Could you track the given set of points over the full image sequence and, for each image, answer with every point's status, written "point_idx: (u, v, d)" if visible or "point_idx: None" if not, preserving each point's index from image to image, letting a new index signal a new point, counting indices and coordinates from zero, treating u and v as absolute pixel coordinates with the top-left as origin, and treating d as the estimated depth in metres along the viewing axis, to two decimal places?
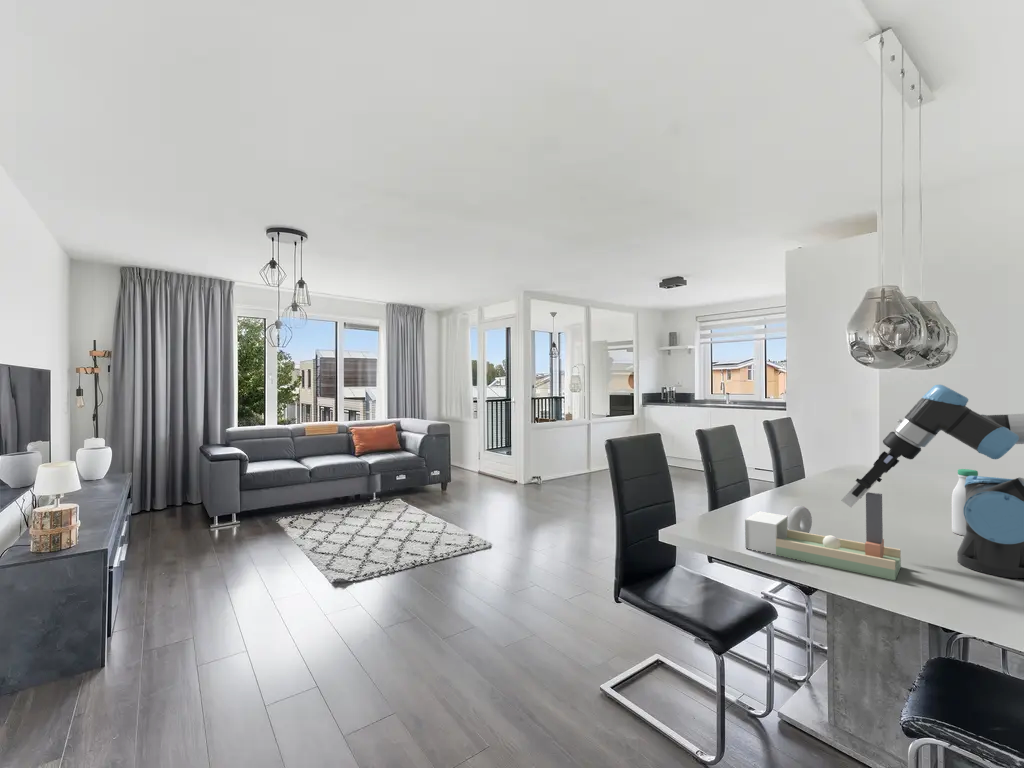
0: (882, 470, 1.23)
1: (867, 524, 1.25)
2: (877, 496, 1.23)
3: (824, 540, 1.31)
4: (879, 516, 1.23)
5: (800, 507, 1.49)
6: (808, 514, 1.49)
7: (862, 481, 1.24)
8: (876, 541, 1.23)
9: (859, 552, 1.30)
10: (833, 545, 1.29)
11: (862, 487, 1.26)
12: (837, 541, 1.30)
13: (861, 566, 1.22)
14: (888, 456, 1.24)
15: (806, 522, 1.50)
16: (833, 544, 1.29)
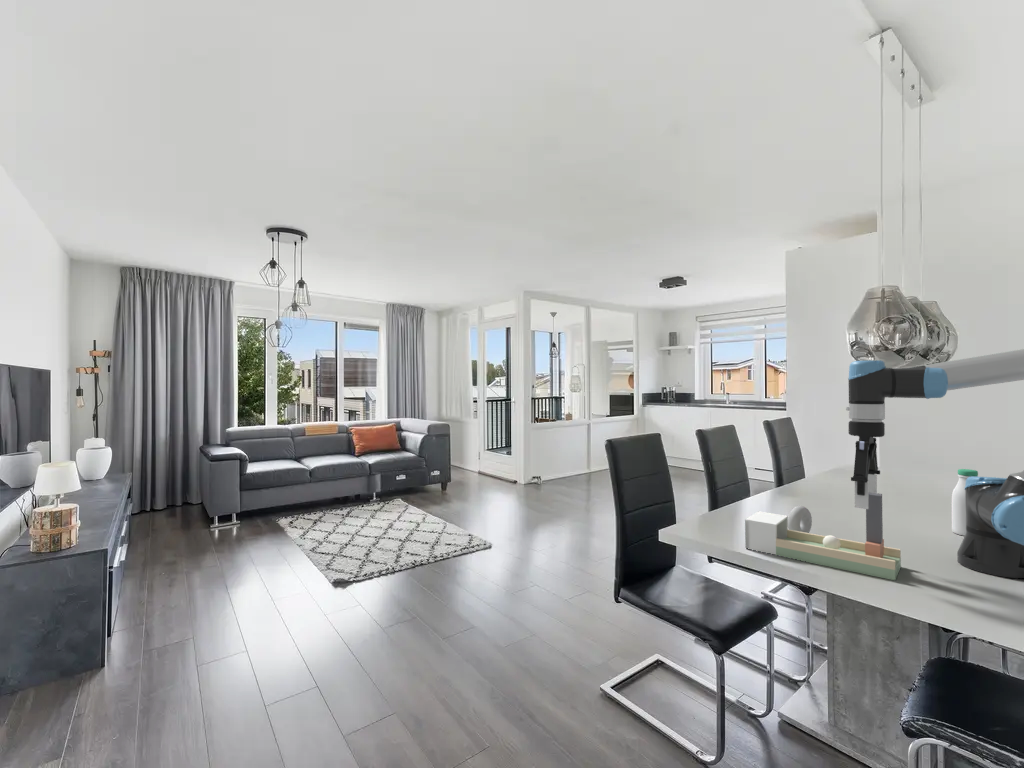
0: (864, 457, 1.20)
1: (867, 524, 1.25)
2: (877, 496, 1.23)
3: (824, 540, 1.31)
4: (879, 516, 1.23)
5: (800, 507, 1.49)
6: (808, 514, 1.49)
7: (856, 477, 1.19)
8: (876, 541, 1.23)
9: (859, 552, 1.30)
10: (833, 545, 1.29)
11: (861, 483, 1.20)
12: (837, 541, 1.30)
13: (861, 566, 1.22)
14: (860, 442, 1.21)
15: (806, 522, 1.50)
16: (833, 544, 1.29)
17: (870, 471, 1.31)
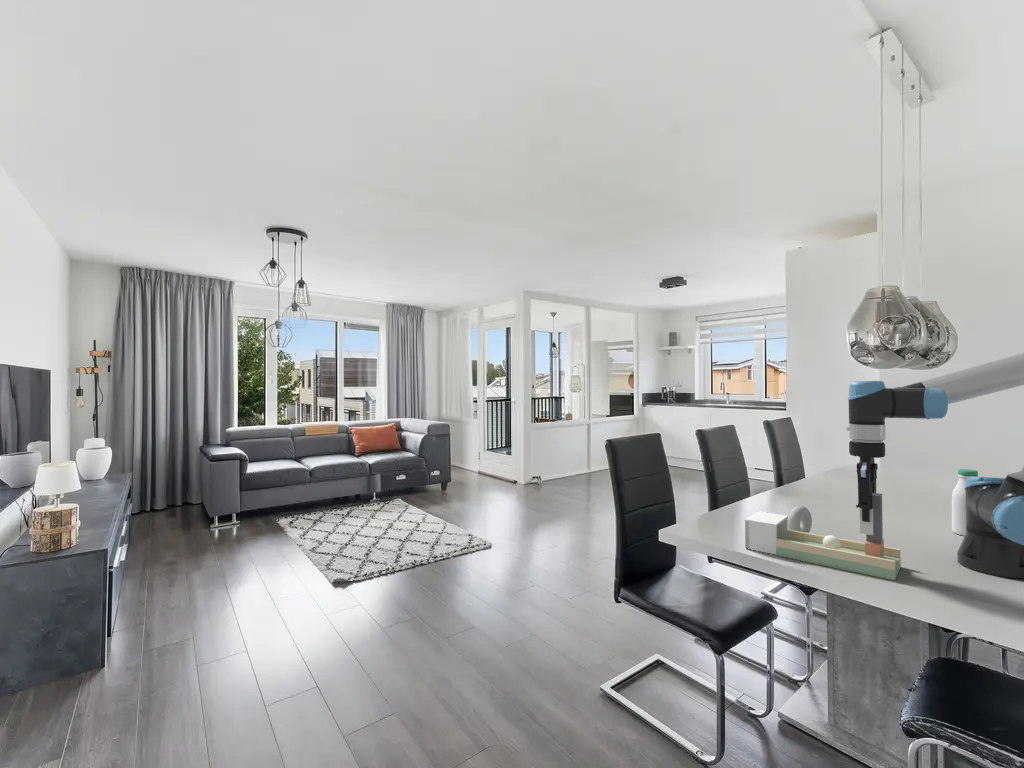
0: (867, 486, 1.21)
1: None
2: (877, 496, 1.23)
3: (824, 540, 1.31)
4: (879, 516, 1.23)
5: (800, 507, 1.49)
6: (808, 514, 1.49)
7: (861, 505, 1.23)
8: (876, 541, 1.23)
9: (859, 552, 1.30)
10: (833, 545, 1.29)
11: (866, 510, 1.23)
12: (837, 541, 1.30)
13: (861, 566, 1.22)
14: (861, 471, 1.21)
15: (806, 522, 1.50)
16: (833, 544, 1.29)
17: None
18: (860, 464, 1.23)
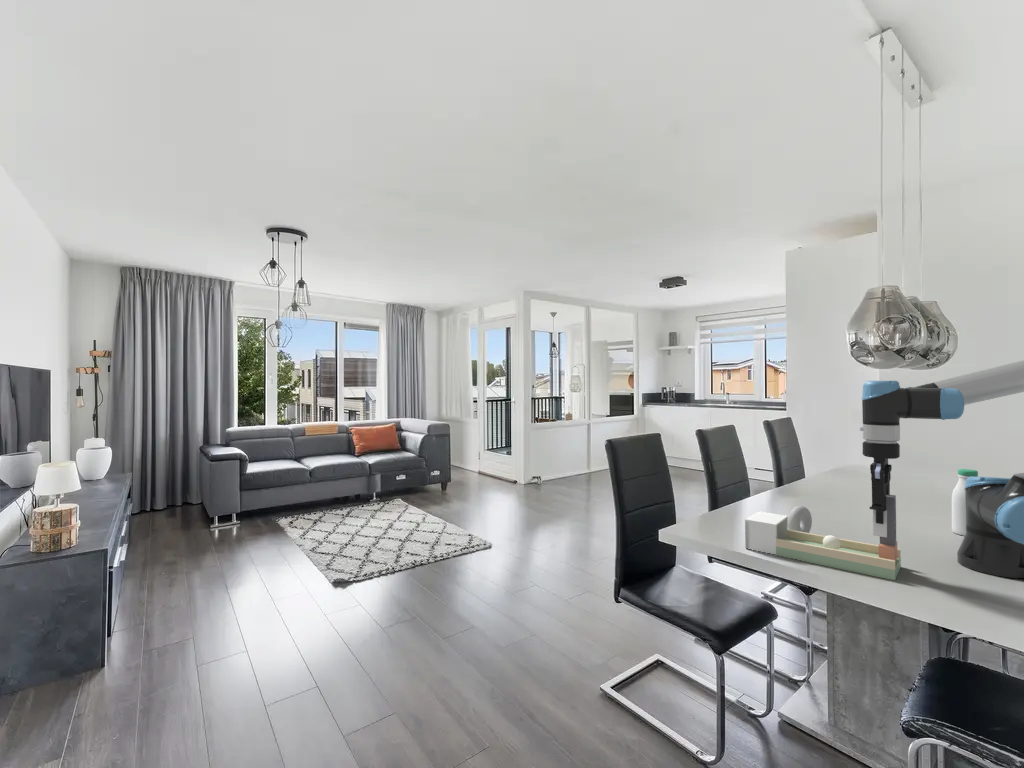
0: (881, 487, 1.19)
1: None
2: (891, 498, 1.21)
3: (824, 540, 1.31)
4: (893, 518, 1.21)
5: (800, 507, 1.49)
6: (808, 514, 1.49)
7: (874, 507, 1.21)
8: (890, 543, 1.21)
9: (859, 552, 1.30)
10: (833, 545, 1.29)
11: (880, 512, 1.21)
12: (837, 541, 1.30)
13: (861, 566, 1.22)
14: (875, 472, 1.19)
15: (806, 522, 1.50)
16: (833, 544, 1.29)
17: None
18: (874, 465, 1.22)
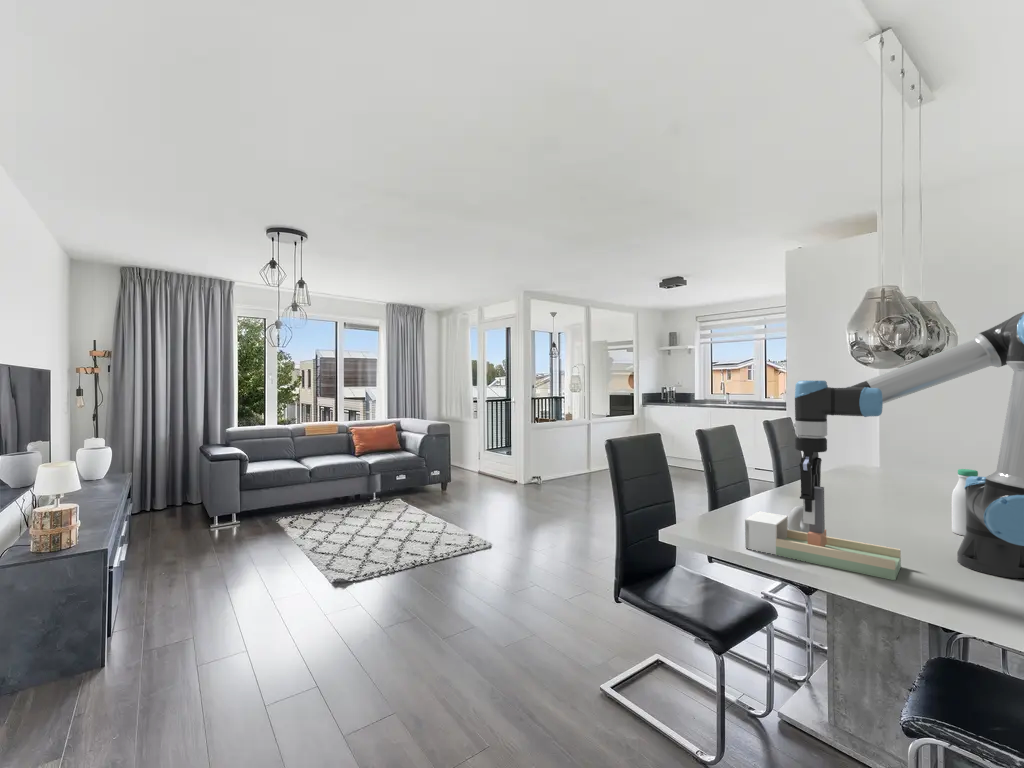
0: (809, 478, 1.30)
1: None
2: (819, 489, 1.32)
3: None
4: (820, 508, 1.32)
5: (800, 507, 1.49)
6: None
7: (803, 496, 1.31)
8: (818, 531, 1.32)
9: (859, 552, 1.30)
10: None
11: (808, 501, 1.32)
12: None
13: (861, 566, 1.22)
14: (803, 465, 1.30)
15: None
16: None
17: None
18: (803, 458, 1.32)
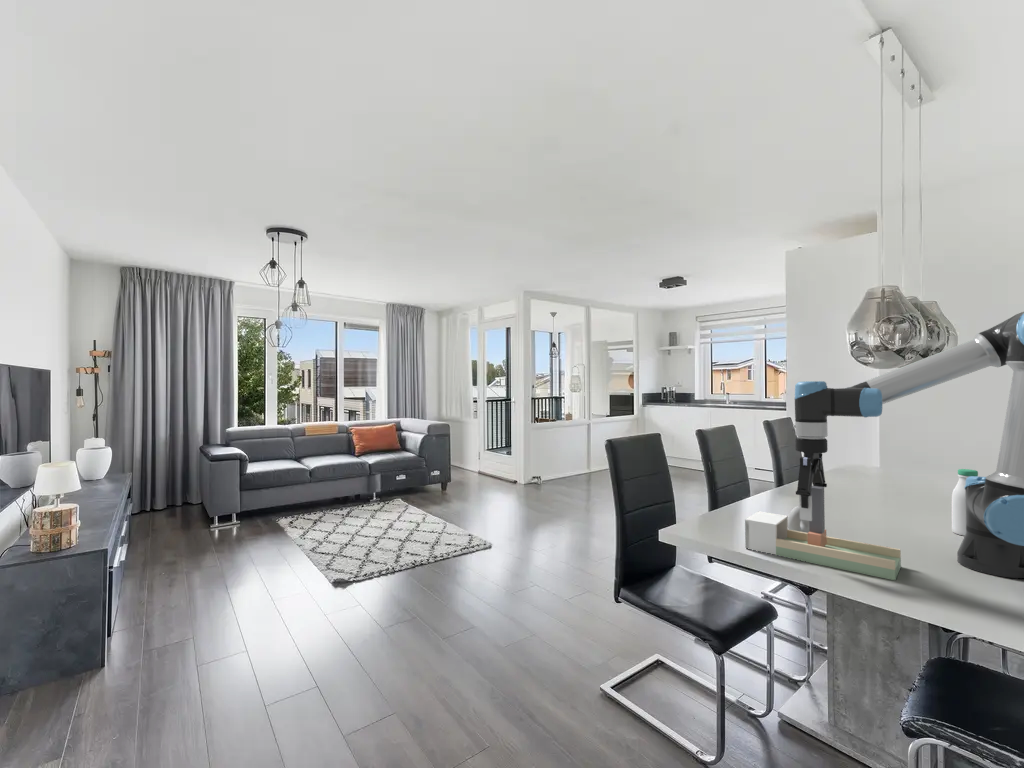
0: (807, 473, 1.28)
1: None
2: (819, 489, 1.32)
3: None
4: (820, 508, 1.32)
5: None
6: None
7: (799, 491, 1.28)
8: (818, 531, 1.32)
9: (859, 552, 1.30)
10: None
11: (804, 497, 1.28)
12: None
13: (861, 566, 1.22)
14: (803, 458, 1.30)
15: (806, 522, 1.50)
16: None
17: (817, 484, 1.40)
18: None
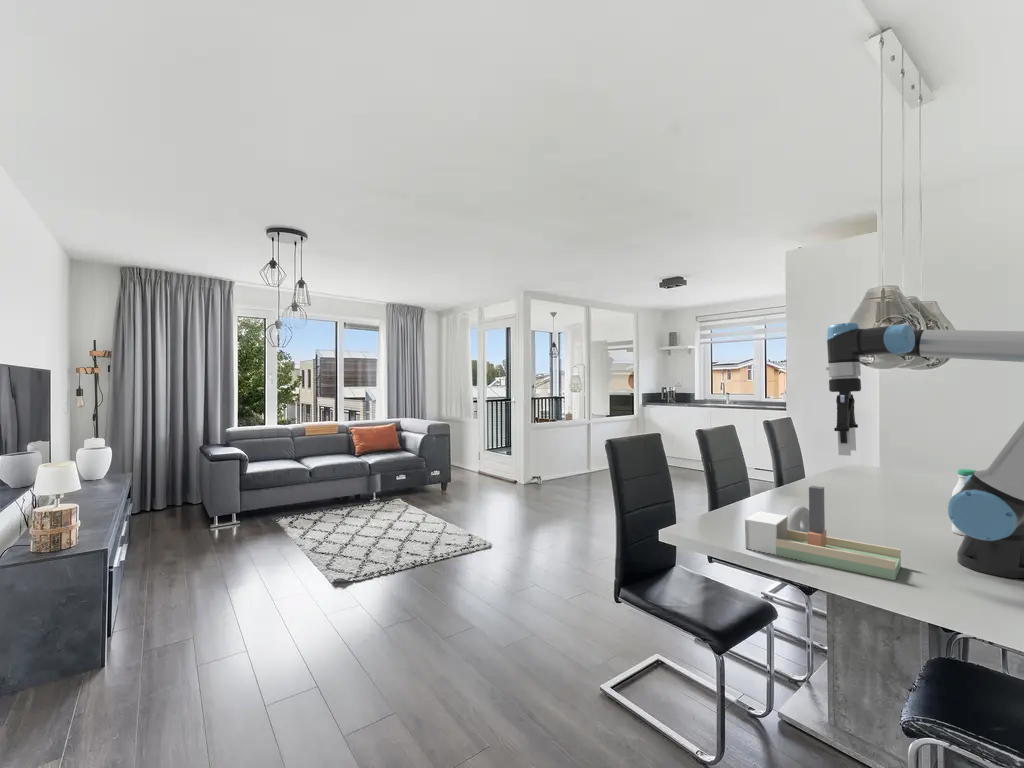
0: (845, 409, 1.33)
1: (810, 515, 1.33)
2: (819, 489, 1.32)
3: None
4: (820, 508, 1.32)
5: (800, 507, 1.49)
6: (808, 514, 1.49)
7: (839, 426, 1.32)
8: (818, 531, 1.32)
9: (859, 552, 1.30)
10: None
11: (843, 432, 1.33)
12: None
13: (861, 566, 1.22)
14: (840, 396, 1.35)
15: (806, 522, 1.50)
16: None
17: (849, 425, 1.45)
18: None
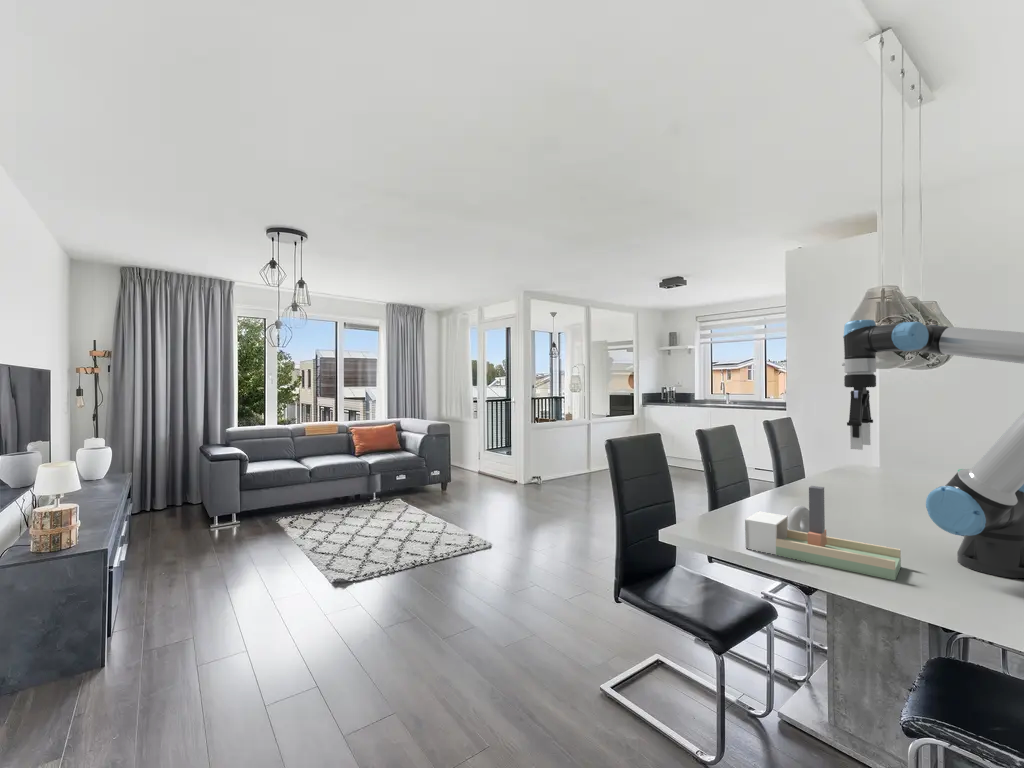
0: (858, 404, 1.36)
1: (810, 515, 1.33)
2: (819, 489, 1.32)
3: None
4: (820, 508, 1.32)
5: (800, 507, 1.49)
6: (808, 514, 1.49)
7: (851, 421, 1.36)
8: (818, 531, 1.32)
9: (859, 552, 1.30)
10: None
11: (856, 427, 1.36)
12: None
13: (861, 566, 1.22)
14: (854, 391, 1.38)
15: (806, 522, 1.50)
16: None
17: (864, 420, 1.48)
18: None
